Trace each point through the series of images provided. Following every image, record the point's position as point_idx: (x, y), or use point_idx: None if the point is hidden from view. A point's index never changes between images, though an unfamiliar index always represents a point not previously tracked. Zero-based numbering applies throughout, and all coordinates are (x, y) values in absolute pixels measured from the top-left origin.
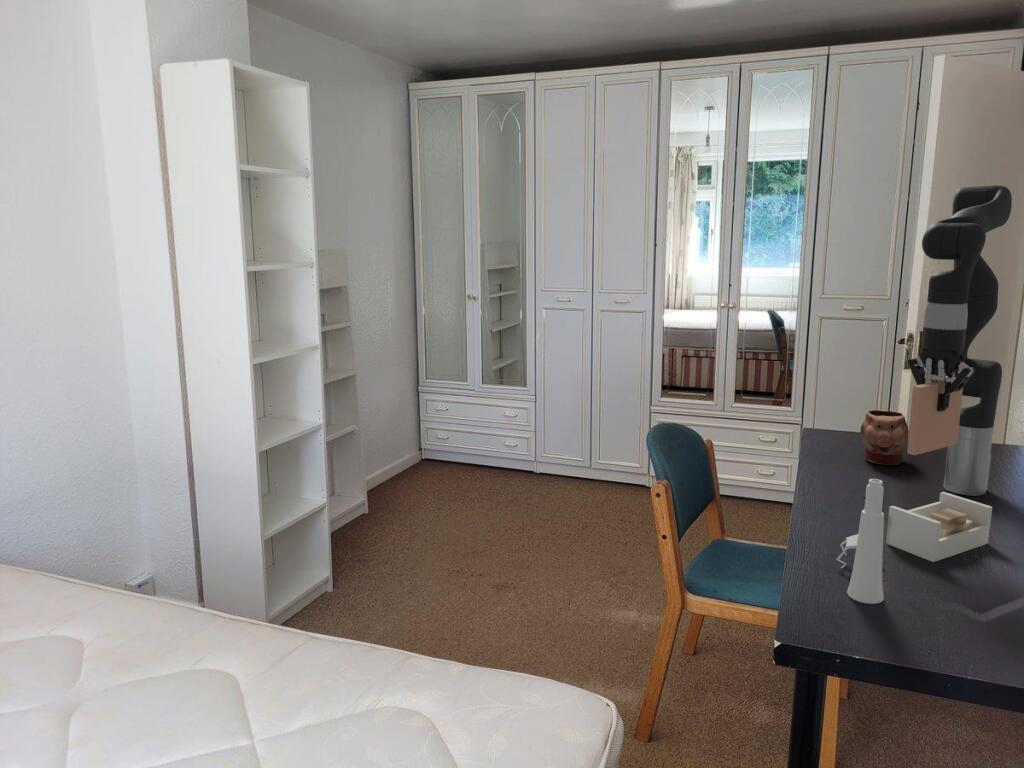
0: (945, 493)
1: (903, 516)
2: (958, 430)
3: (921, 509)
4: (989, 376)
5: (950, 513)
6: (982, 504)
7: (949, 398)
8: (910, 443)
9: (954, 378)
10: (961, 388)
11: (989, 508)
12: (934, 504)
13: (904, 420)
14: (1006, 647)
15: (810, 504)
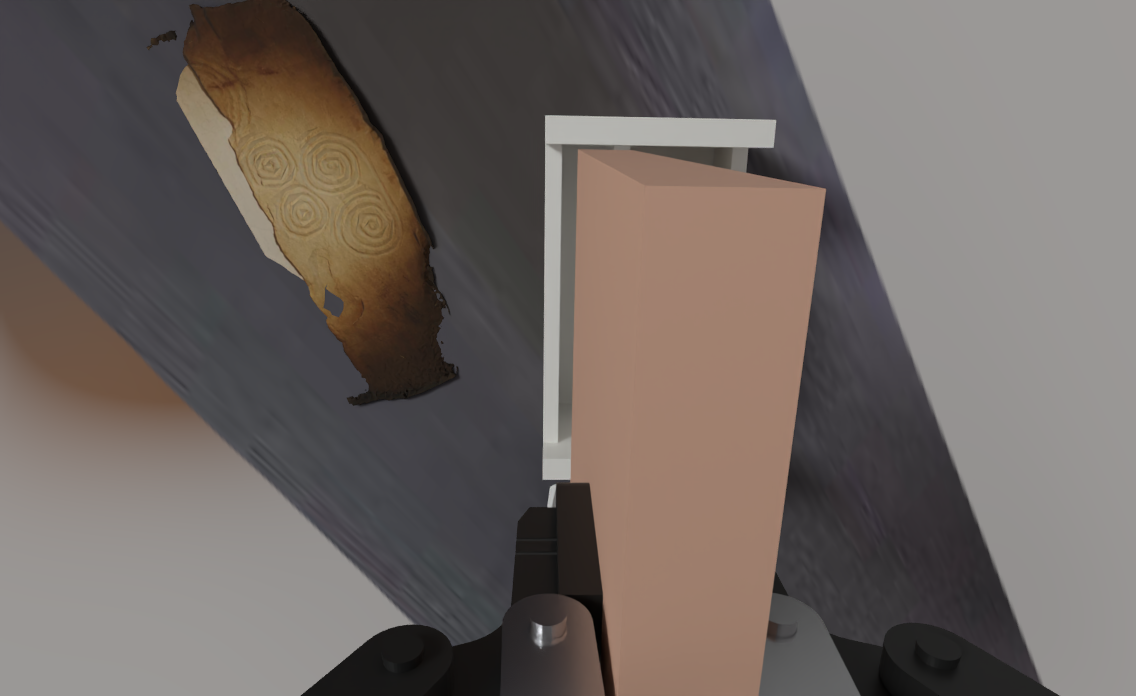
0: (563, 131)
1: None
2: (647, 153)
3: (559, 290)
4: None
5: None
6: (736, 128)
7: (776, 576)
8: None
9: (680, 320)
10: (991, 657)
11: (773, 143)
12: (557, 198)
13: None
14: (1004, 634)
15: (134, 308)
